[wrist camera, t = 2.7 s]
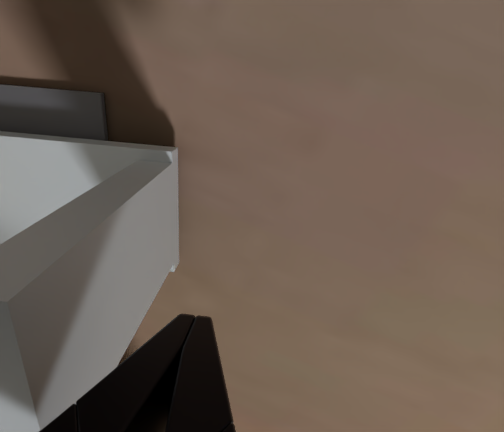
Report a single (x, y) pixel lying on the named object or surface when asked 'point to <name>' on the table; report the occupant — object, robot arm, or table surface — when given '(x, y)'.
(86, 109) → the tunnel
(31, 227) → the bracket
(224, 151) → the table surface
